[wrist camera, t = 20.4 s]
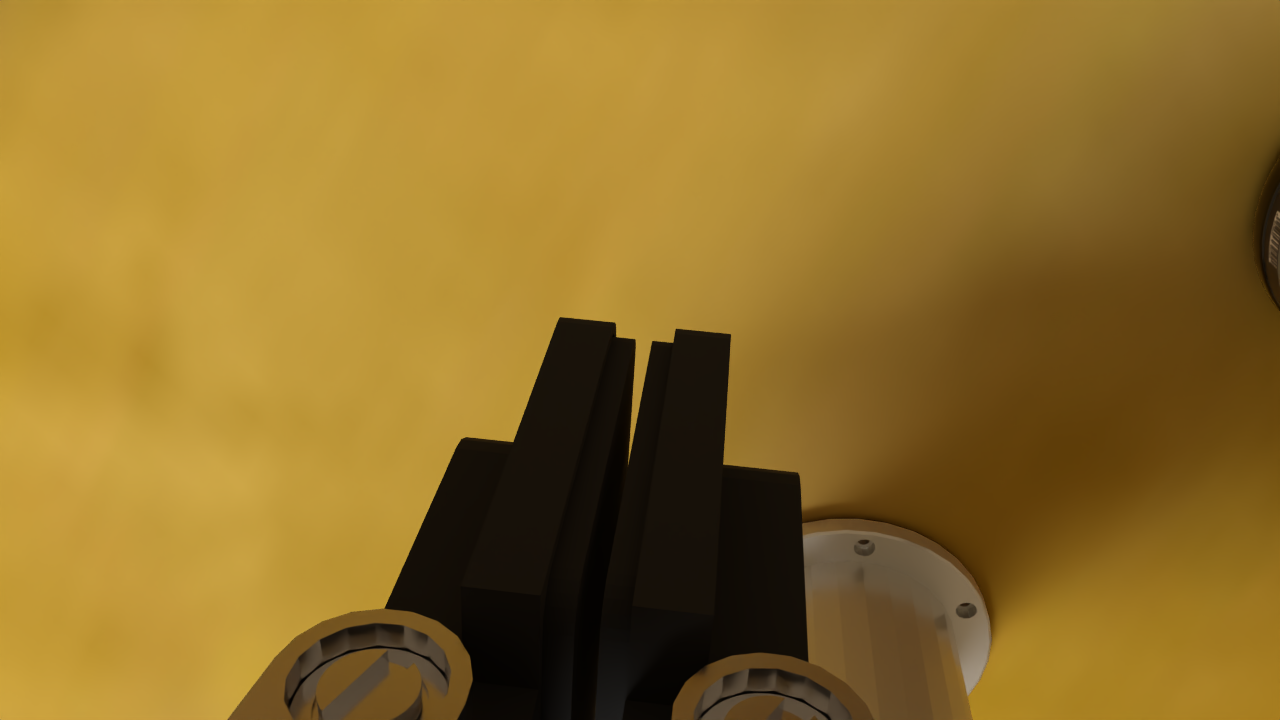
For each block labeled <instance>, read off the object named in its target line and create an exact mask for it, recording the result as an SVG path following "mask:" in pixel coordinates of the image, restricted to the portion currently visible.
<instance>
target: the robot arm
mask: <svg viewBox="0 0 1280 720" xmlns="http://www.w3.org/2000/svg"><path fill="white" fill-rule="evenodd" d="M730 342H731V334H723V333H713V332H703V331H693V330H683V329H676V331H675V337H674V343H667V342H657V341H652V346H651V351H650V356H649V361H648V366H647V371H646V377H645V382H644V387H643V392H642V397H641V402H640V408H639V413H638V418H637V423H636V428H635V433H634V439H633V444H632V449H631V454H630V459H629V464H628V457H629V442H630V427H631V412H632V396H633V381H634V366H635V349H636V341H635V339H628V338H618V337H616V324H615V323H613V322H603V321H593V320H583V319H573V318H563V317H560V318H559V320H558V322H557V325H556V327H555V330H554V333H553V336H552V338H551V341H550V344H549V346H548V349H547V352H546V355H545V357H544V360H543V363H542V366H541V368H540V371H539V374H538V376H537V379H536V382H535V385H534V387H533V390H532V393H531V396H530V398H529V401H528V404H527V406H526V409H525V412H524V415H523V417H522V420H521V423H520V426H519V428H518V431H517V434H516V436H515V439H514V442H506V441H497V440H487V439H478V438H469V437H465V438H463V439H461V441H460V442H459V444H458V446H457V447H456V449H455V452H454V454H453V456H452V458H451V461H450V463H449V465H448V467H447V470H446V472H445V474H444V476H443V479H442V481H441V483H440V485H439V488H438V490H437V492H436V494H435V497H434V499H433V501H432V503H431V505H430V508H429V510H428V512H427V514H426V517H425V519H424V521H423V523H422V526H421V528H420V530H419V532H418V535H417V537H416V539H415V541H414V544H413V546H412V548H411V550H410V553H409V555H408V557H407V559H406V562H405V564H404V566H403V568H402V571H401V573H400V575H399V577H398V580H397V582H396V584H395V586H394V588H393V591H392V593H391V595H390V597H389V600H388V602H387V604H386V606H385V609H375V610H366V611H356V612H350V613H347V614H344V615H341V616H338V617H335V618H332V619H329V620H325V621H322V622H321V623H319V624H317V625H315V626H314V627H312V628H310V629H309V630H307V631H305V632H303V633H302V634H300V635H298V636H296V637H295V638H294V639H293V640H292V641H291V642H290V643H289V644H288V645H287V646H286V647H285V648H284V649H283V650H282V651H281V652H280V653H279V654H278V655H277V656H276V657H275V658H274V659H273V661H272V662H271V663H270V665H269V666H268V667H267V668H266V670H265V671H264V672H263V674H262V675H261V676H260V678H259V679H258V680H257V682H256V683H255V684H254V685H253V687H252V688H251V689H250V691H249V692H248V693H247V695H246V696H245V697H244V699H243V700H242V701H241V702H240V704H239V705H238V706H237V708H236V709H235V710H234V712H233V713H232V714H231V716H230V717H229V718H228V719H227V720H972V715H971V710H970V705H969V701H968V696H969V694H970V693H971V692H972V690H973V689H974V687H975V686H976V685H977V683H978V682H979V681H980V679H981V677H982V674H983V672H984V670H985V667H986V665H987V663H988V660H989V654H990V647H991V641H992V638H991V629H990V619H989V616H988V612H987V608H986V605H985V601H984V598H983V595H982V593H981V591H980V589H979V587H978V586H977V584H976V582H975V580H974V578H973V576H972V575H971V574H970V573H969V572H968V570H967V569H966V568H965V567H964V566H963V565H962V563H961V562H960V561H959V560H958V559H957V558H956V557H954V556H953V555H952V554H951V553H949V552H948V551H947V550H945V549H944V548H943V547H941V546H940V545H939V544H938V543H936V542H934V541H932V540H930V539H928V538H926V537H924V536H922V535H920V534H918V533H916V532H914V531H911V530H908V529H905V528H902V527H898V526H895V525H892V524H889V523H884V522H877V521H870V520H864V519H826V520H820V521H814V522H807V523H802V507H801V486H800V476H799V474H798V473H796V472H787V471H778V470H768V469H759V468H750V467H740V466H731V465H723V457H724V441H725V424H726V408H727V392H728V375H729V359H730Z"/></svg>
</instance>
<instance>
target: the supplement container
mask: <svg viewBox="0 0 1280 720" xmlns="http://www.w3.org/2000/svg"><path fill="white" fill-rule="evenodd" d="M1253 251H1254V259H1255V264H1256V268H1257V271H1258V275H1259V277H1260V280H1261V282H1262V284H1263V287H1264V289H1265V291H1266V292H1267V294H1268V296H1269V298H1270V299H1271V301H1272V302H1273V303H1274V305H1275V306H1276V307H1277V308H1278V310H1279V311H1280V157H1279V159H1278V160H1277V162H1276V164H1275V165H1274V167H1273V168H1272V170H1271V172H1270V174H1269V176H1268V178H1267V180H1266V182H1265V184H1264V187H1263V190H1262V192H1261V195H1260V198H1259V201H1258V205H1257V209H1256V213H1255V218H1254V226H1253Z"/></svg>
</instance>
